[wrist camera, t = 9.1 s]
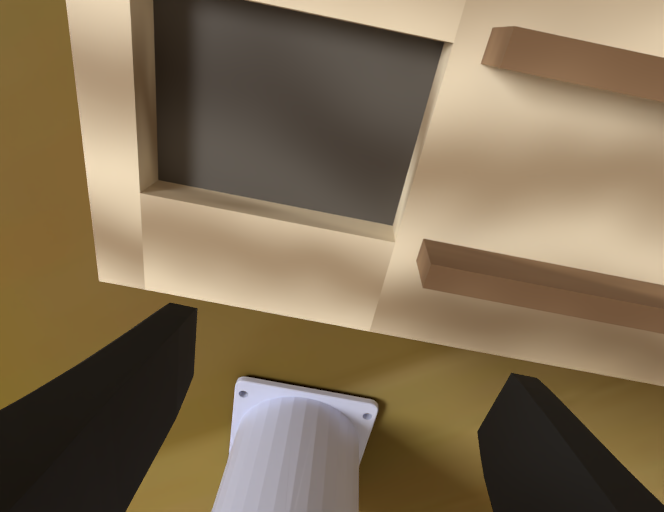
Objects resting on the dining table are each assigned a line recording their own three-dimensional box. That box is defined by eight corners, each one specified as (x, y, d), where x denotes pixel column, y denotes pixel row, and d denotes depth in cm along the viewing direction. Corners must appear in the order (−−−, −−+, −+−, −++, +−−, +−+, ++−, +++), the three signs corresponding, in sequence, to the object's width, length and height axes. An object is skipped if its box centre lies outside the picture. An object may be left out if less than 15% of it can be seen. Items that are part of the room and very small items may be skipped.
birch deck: (833, 392, 20) (878, 426, 19) (122, 258, 19) (99, 280, 18) (1229, 38, 13) (1369, 39, 11) (84, -219, 12) (34, -264, 10)
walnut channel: (727, 320, 16) (771, 354, 15) (416, 260, 16) (422, 288, 14) (899, 113, 12) (987, 126, 11) (492, 27, 12) (514, 26, 10)
